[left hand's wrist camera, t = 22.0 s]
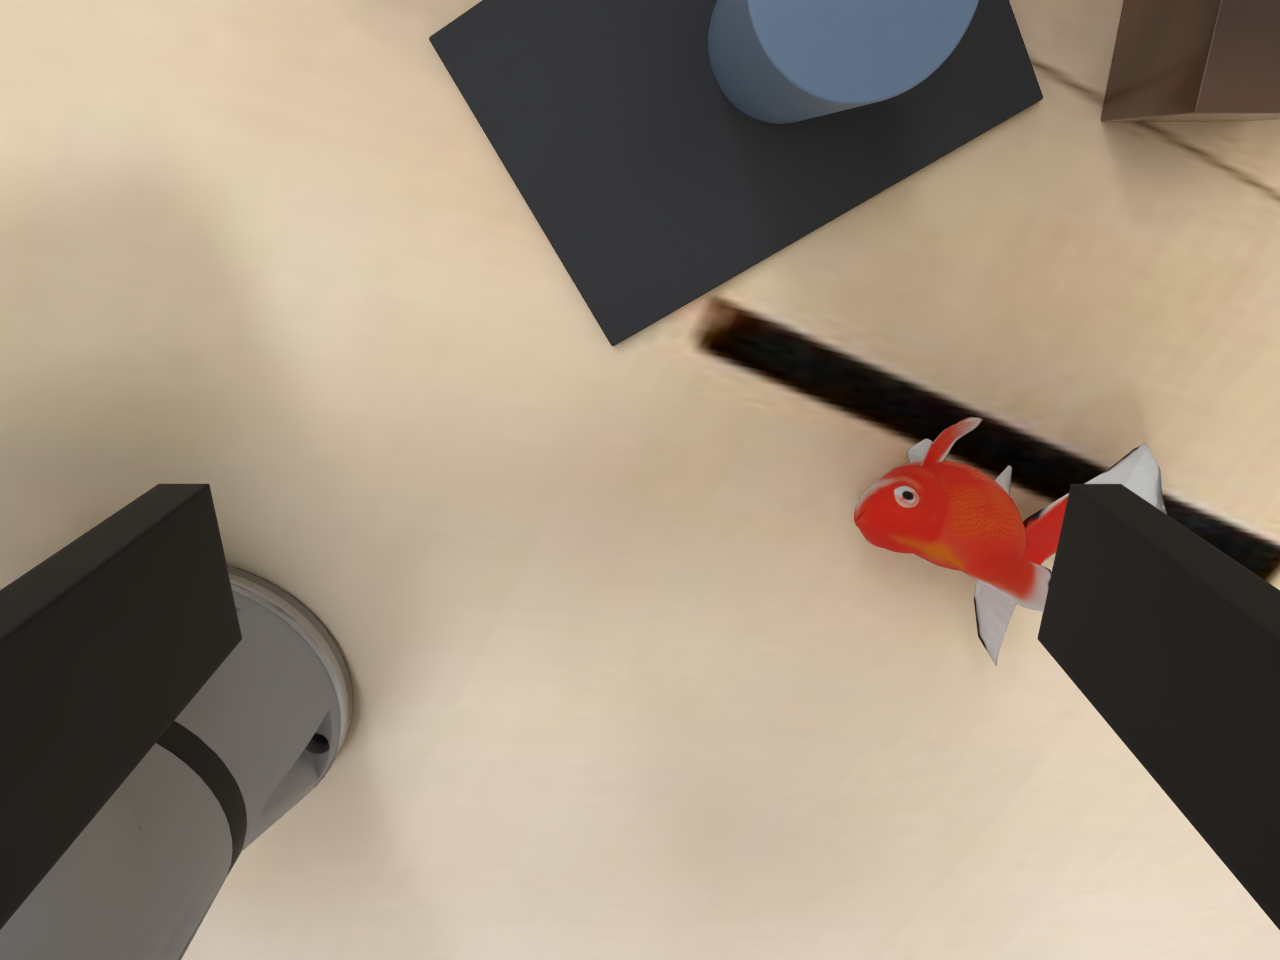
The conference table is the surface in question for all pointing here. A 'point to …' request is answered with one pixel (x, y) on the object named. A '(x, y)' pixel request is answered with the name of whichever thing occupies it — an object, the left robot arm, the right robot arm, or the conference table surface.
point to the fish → (981, 524)
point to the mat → (693, 141)
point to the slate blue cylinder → (828, 52)
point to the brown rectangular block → (1196, 61)
